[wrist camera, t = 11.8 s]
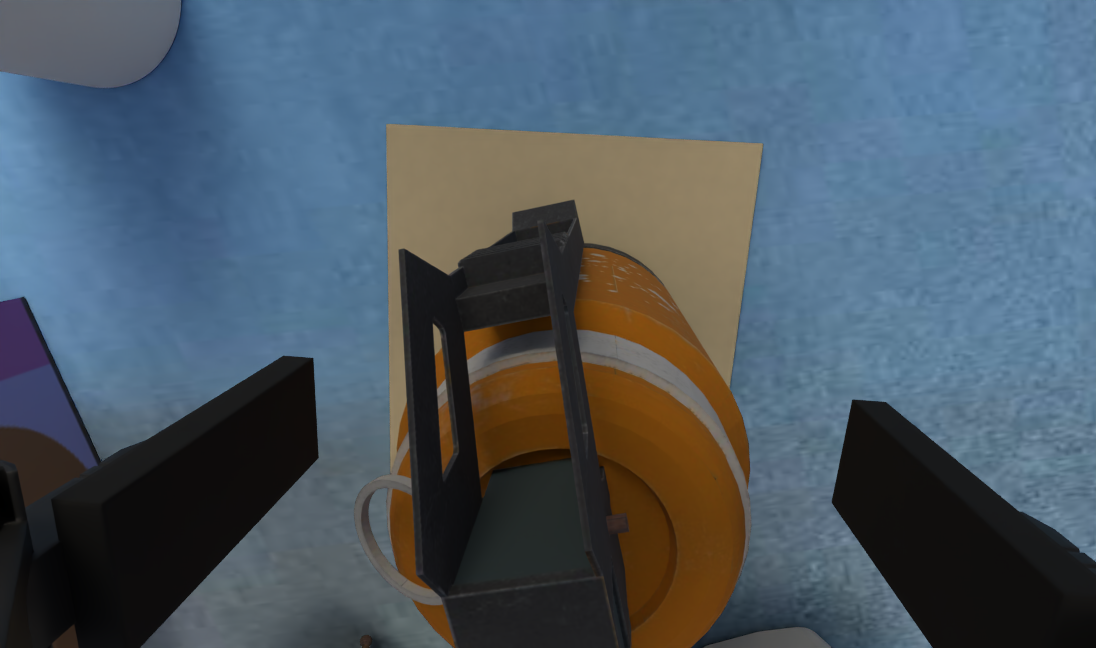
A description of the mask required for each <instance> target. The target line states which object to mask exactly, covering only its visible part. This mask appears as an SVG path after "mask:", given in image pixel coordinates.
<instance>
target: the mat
mask: <svg viewBox="0 0 1096 648" xmlns="http://www.w3.org/2000/svg"><path fill="white" fill-rule="evenodd" d="M386 136H387V219H388V302H389V385H390V468H391V470H392V467H393V464H394V461H395V458H396V454H397V441H398V433H399V426H400V421H401V418H402V415H403V412H404V409H405V405H406V402H407V397H406V379H405V361H404V343H403V325H402V307H401V289H400V271H399V253H398V250H399V249H403V248H405V249H406V250H408V251H410V252H411V253H413V254H415V255H416V256H418V257H420V258H421V259H423V260H424V261H426V262H428V263H429V264H431V265H433V266H434V267H436V268H438V269H439V270H441V271H443V272H444V273H446V274H448V275H449V274H450V273H451V272H453V271H454V270H456V269H457V268H458V262H459V261H460V260H461V259H463V258H464V257H467V256H468V255H469V254H471V253H472V252H474V251H475V250H478V249H483V248H488V247H490V246H491V245H493V244H494V243H496V242H497V241H498V240H500V239H501V238H503V237H504V236H506V235H507V234H509V233H510V232H512V212H517V211H522V210H527V209H531V208H536V207H541V206H546V205H550V204H555V203H560V202H564V201H569V200H575V204H576V209H577V213H578V218H579V222H580V227H581V231H582V236H583V240H584V243H593V244H598V245H603V246H608V247H611V248H614V249H617V250H620V251H622V252H625V253H627V254H628V255H630V256H632V257H634V258H635V259H637V260H639V261H640V262H641V263H643V264H644V265H645V266H646V267H648V268H649V269H650V270H651V271H652V272H653V273H654V274H655V275H656V276H657V277H658V278H659V279H660V280H661V282H662V283H663V284H664V286H665V287H666V289H667V290H668V292H669V294H670V295H671V297H672V298H673V300H674V302H675V303H676V305H677V306H678V308H679V309H680V311H681V313H682V314H683V316H684V317H685V319H686V321H687V322H688V324H689V325H690V327H691V329H692V330H693V332H694V333H695V335H696V336H697V338H698V340H699V341H700V343H701V344H702V346H703V348H704V349H705V351H706V352H707V354H708V356H709V357H710V359H711V360H712V362H713V364H714V365H715V367H716V368H717V370H718V371H719V373H720V375H721V376H722V378H723V379H724V381H725V383H726V384H727V386H728V387H729V389H730V382H731V375H732V368H733V360H734V353H735V346H736V339H737V331H738V324H739V317H740V310H741V302H742V295H743V288H744V281H745V273H746V266H747V259H748V252H749V244H750V237H751V230H752V223H753V215H754V208H755V201H756V194H757V186H758V179H759V172H760V165H761V157H762V150H763V144H761V143H741V142H722V141H703V140H684V139H665V138H646V137H627V136H608V135H589V134H569V133H550V132H531V131H512V130H493V129H474V128H455V127H436V126H417V125H397V124H386ZM433 334H434V350H435V355H436V354H437V353H438V352H439V350H440V349H441V348H442V344H441V335H440V332H439V329H438V328H437V327H436V326H435V325H434V324H433Z"/></svg>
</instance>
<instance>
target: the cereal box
mask: <svg viewBox="0 0 1096 648" xmlns="http://www.w3.org/2000/svg"><path fill="white" fill-rule="evenodd" d="M0 460H4V461H7V462H10V463H13V464H15V466H16V468H17V470H18V475H19V480H20V485H21V490H22V495H23V500H24V505H25V507H27V506H29V505H30V504H32V503H34V502H35V501H37V500H39V499H40V498H42V497H43V496H45V495H47V494H48V493H50V492H52V491H53V490H55V489H57V488H58V487H60V486H62V485H63V484H65V483H67V482H68V481H70V480H72V479H73V478H79V477H80V474H82V473H83V472H85V471H87V470H88V469H90V468H92V467H93V466H98V465H99V463H100V460H99V457H98V455H97V453H96V451H95V449H94V447H93V444H92V442H91V440H90V438H89V436H88V434H87V432H86V429H85V427H84V425H83V423H82V421H81V419H80V416H79V414H78V412H77V410H76V408H75V406H74V404H73V401H72V399H71V397H70V395H69V393H68V391H67V388H66V386H65V384H64V382H63V380H62V378H61V376H60V373H59V371H58V369H57V367H56V365H55V363H54V360H53V358H52V356H51V354H50V352H49V350H48V348H47V345H46V343H45V341H44V339H43V337H42V335H41V332H40V330H39V328H38V326H37V324H36V322H35V320H34V317H33V315H32V313H31V311H30V309H29V307H28V304H27V302H26V300H25V298H24V297H22V298H17V299H12V300H8V301H3V302H0ZM52 644H53V648H79V647H78V641H77V636H76V631H75V625H72V626H71V627H70V628H69V629H68V630H67V631H66V632H65V633H63V634H62V635H61V636H60V637H59V638H58V639H57V640H55V641H54V642H53V643H52Z"/></svg>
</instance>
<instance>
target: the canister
mask: <svg viewBox="0 0 1096 648" xmlns="http://www.w3.org/2000/svg"><path fill="white" fill-rule="evenodd" d="M398 253H399V271H400V289H401V307H402V325H403V343H404V361H405V379H406V397H407V402H406V405H405V409H404V412H403V415H402V418H401V421H400V426H399V433H398V441H397V454H396V458H395V461H394V464H393V467H392V470H391V473H390V475H384V476H380V477H378V478H376V479H375V480H373V481H371V482H370V483H368V484H367V485H366V486H365V487H363V488H362V490H361V491H360V493H359V494H358V496H357V499H356V502H355V508H354V519H355V526H356V530H357V534H358V537H359V540H360V542H361V545H362V547H363V549H364V551H365V553H366V555H367V556H368V558H369V560H370V561H371V563H372V564H373V566H374V567H375V568H376V570H377V571H378V572H379V573H380V574H381V576H382V577H383V578H384V579H385V580H386V581H387V582H388V583H389V584H390V585H391V586H393V587H394V588H395V589H396V590H398V591H399V592H400V593H402V594H404V595H405V596H407V597H409V598H411V599H412V600H413V602H414V604H415V605H416V607H417V609H418V610H419V611H420V612H421V614H422V615H423V616H424V617H425V619H426V620H427V621H428V622H429V624H430V625H431V626H432V627H433V628H434V630H435V631H436V632H437V633H438V634H440V635H441V636H442V637H443V638H444V639H445V640H446V641H447V642H448V643H449V644H450V645H452V646H453V647H454V648H691V647H692V646H693V645H694V644H695V643H696V642H697V641H698V640H699V639H700V638H701V637H702V636H704V635H705V634H706V633H707V632H708V630H709V629H710V628H711V626H712V625H713V624H714V623H715V621H716V620H717V619H718V617H719V616H720V615H721V613H722V612H723V610H724V608H725V606H726V604H727V602H728V600H729V599H730V597H731V595H732V593H733V591H734V588H735V585H736V583H737V581H738V579H739V578H740V576H741V572H742V569H743V566H744V563H745V560H746V556H747V553H748V548H749V540H750V532H751V510H750V498H749V493H748V483H749V475H750V459H749V443H748V439H747V434H746V430H745V426H744V422H743V418H742V415H741V413H740V411H739V408H738V406H737V404H736V401H735V399H734V397H733V394H732V392H731V391H730V389H729V387H728V386H727V384H726V383H725V381H724V379H723V378H722V376H721V375H720V373H719V371H718V370H717V368H716V367H715V365H714V364H713V362H712V360H711V359H710V357H709V356H708V354H707V352H706V351H705V349H704V348H703V346H702V344H701V343H700V341H699V340H698V338H697V336H696V335H695V333H694V332H693V330H692V329H691V327H690V325H689V324H688V322H687V321H686V319H685V317H684V316H683V314H682V313H681V311H680V309H679V308H678V306H677V305H676V303H675V302H674V300H673V298H672V297H671V295H670V294H669V292H668V290H667V289H666V287H665V286H664V284H663V283H662V282H661V280H660V279H659V278H658V277H657V276H656V275H655V274H654V273H653V272H652V271H651V270H650V269H649V268H648V267H646V266H645V265H644V264H643V263H641V262H640V261H639V260H637V259H635V258H634V257H632V256H630V255H628V254H627V253H625V252H622V251H620V250H617V249H614V248H611V247H608V246H603V245H598V244H593V243H584V240H583V236H582V231H581V227H580V222H579V218H578V213H577V209H576V204H575V200H569V201H564V202H560V203H555V204H550V205H546V206H541V207H536V208H531V209H527V210H522V211H517V212H512V232H510V233H509V234H507V235H506V236H504V237H503V238H501V239H500V240H498V241H497V242H496V243H494V244H493V245H491V246H490V247H488V248H483V249H478V250H475V251H474V252H472V253H471V254H469V255H468V256H467V257H464V258H463V259H461V260H460V261H459V262H458V268H457V269H456V270H454V271H453V272H451V273H450V274H449V275H448V274H446V273H444V272H443V271H441V270H439V269H438V268H436V267H434V266H433V265H431V264H429V263H428V262H426V261H424V260H423V259H421V258H420V257H418V256H416V255H415V254H413V253H411V252H410V251H408V250H406V249H405V248H403V249H399V250H398ZM433 324H434V325H435V326H436V327H437V328H438V329H439V332H440V335H441V344H442V348H441V349H440V350H439V352H438V353H437V354H436V355H435V350H434V334H433ZM381 488H388V492H387V500H386V505H387V527H388V531H389V536H390V541H391V545H392V550H393V553H394V557H395V562H396V566H397V568H398V571H399V572H398V571H397V570H396V569H395V568H394V567H393V566H392V565H391V564H390V563H389V562H388V560H387V559H386V558H385V556H384V555H383V554H382V552H381V550H380V549H379V547H378V545H377V543H376V541H375V539H374V536H373V534H372V531H371V527H370V523H369V516H368V508H369V502H370V499H371V497H372V495H373V493H374V492H375V491H376V490H377V489H381Z"/></svg>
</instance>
